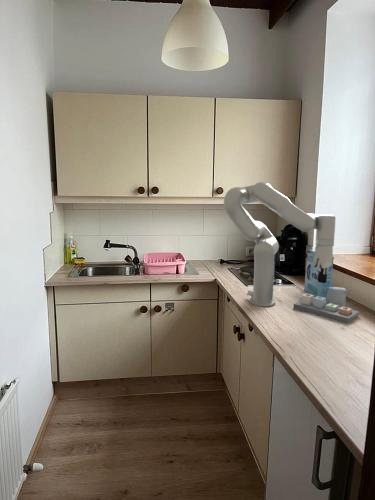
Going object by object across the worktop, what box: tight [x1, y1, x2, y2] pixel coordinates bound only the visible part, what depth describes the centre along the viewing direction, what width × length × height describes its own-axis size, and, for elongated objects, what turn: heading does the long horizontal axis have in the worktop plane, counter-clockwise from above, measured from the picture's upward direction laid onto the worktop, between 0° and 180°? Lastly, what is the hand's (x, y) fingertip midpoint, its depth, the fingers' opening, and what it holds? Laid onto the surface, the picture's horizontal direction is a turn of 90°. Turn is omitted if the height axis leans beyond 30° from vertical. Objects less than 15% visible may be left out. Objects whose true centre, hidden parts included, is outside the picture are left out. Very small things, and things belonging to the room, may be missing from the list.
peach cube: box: [339, 306, 353, 315], centre depth 150 cm, size 4×4×4 cm
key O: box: [301, 292, 315, 305], centre depth 161 cm, size 4×4×4 cm
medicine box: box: [326, 286, 347, 307], centre depth 165 cm, size 8×4×9 cm, turn 74°
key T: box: [313, 296, 327, 308], centre depth 157 cm, size 4×4×4 cm
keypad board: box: [292, 299, 360, 325], centre depth 156 cm, size 25×12×2 cm, turn 44°
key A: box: [326, 303, 339, 312], centre depth 154 cm, size 4×4×4 cm
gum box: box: [303, 249, 335, 302], centre depth 179 cm, size 20×5×23 cm, turn 6°
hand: (322, 282), depth 155 cm, fingers closed
